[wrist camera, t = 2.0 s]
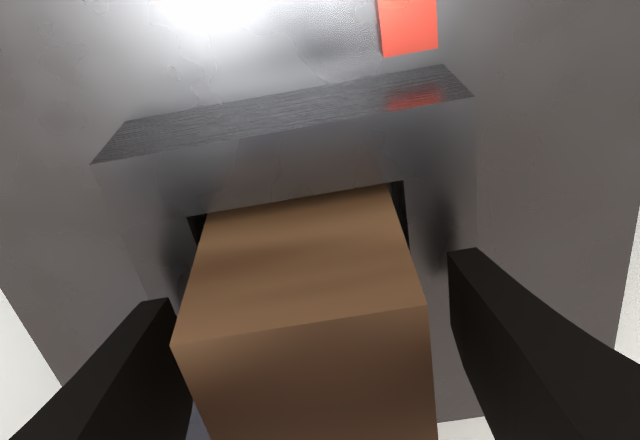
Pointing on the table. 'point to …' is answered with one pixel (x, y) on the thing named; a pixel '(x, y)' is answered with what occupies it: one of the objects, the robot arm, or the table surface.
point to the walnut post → (308, 323)
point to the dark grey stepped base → (314, 148)
